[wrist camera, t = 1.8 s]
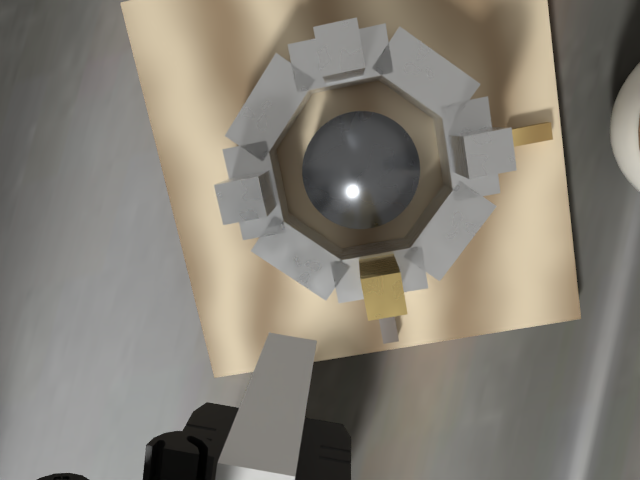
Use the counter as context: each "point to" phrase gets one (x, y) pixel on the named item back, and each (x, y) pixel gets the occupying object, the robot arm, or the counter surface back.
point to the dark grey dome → (361, 170)
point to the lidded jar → (627, 128)
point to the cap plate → (210, 168)
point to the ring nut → (439, 216)
